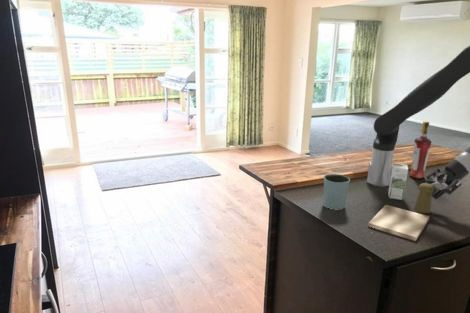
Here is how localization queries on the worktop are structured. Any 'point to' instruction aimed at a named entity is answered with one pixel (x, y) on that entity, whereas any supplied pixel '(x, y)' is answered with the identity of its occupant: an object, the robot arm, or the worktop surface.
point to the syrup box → (397, 181)
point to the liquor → (420, 153)
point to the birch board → (399, 222)
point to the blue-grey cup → (335, 190)
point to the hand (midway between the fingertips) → (427, 193)
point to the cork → (424, 198)
